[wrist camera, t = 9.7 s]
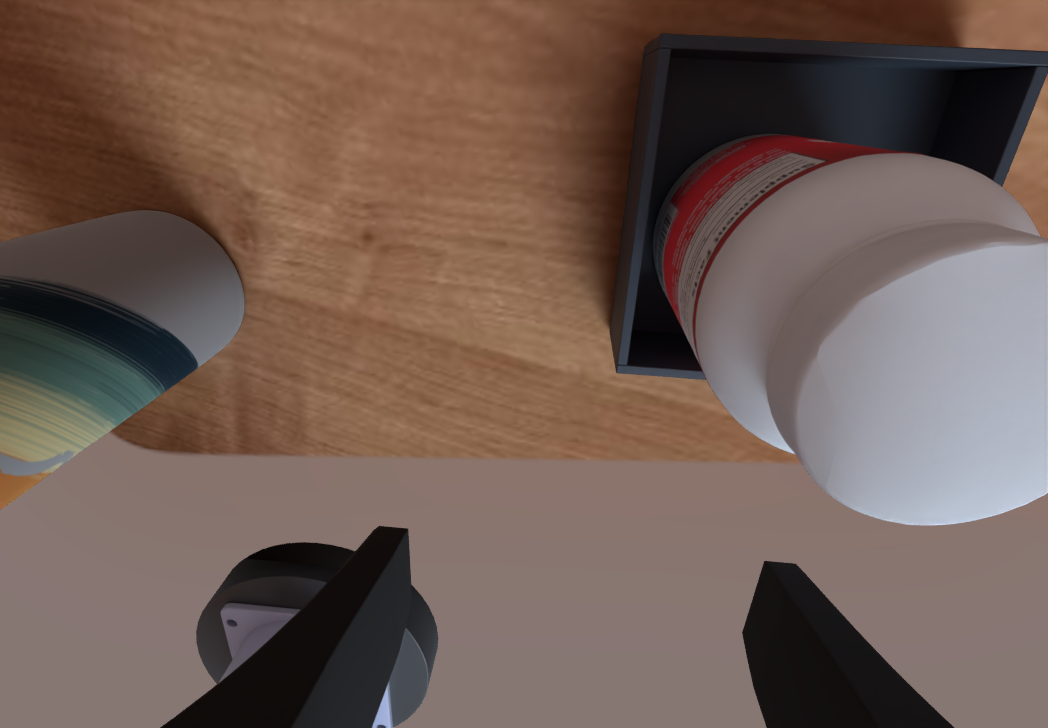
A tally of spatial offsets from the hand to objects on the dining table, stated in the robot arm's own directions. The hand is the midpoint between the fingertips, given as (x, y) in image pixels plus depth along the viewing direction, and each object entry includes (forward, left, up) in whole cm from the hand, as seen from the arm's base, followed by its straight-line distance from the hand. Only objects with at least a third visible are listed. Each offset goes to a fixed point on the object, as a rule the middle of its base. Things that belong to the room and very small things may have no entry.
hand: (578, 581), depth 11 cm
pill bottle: (+5, -5, -10) cm, 12 cm away
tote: (+6, -6, -10) cm, 13 cm away
